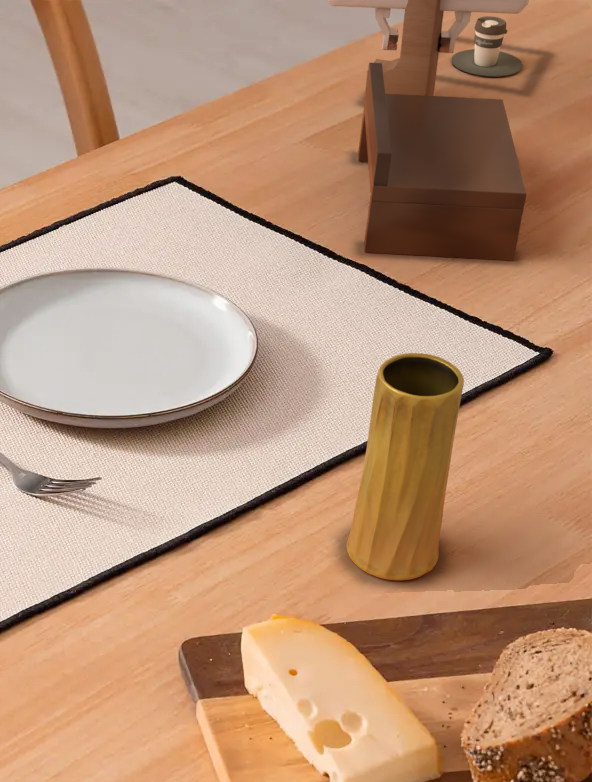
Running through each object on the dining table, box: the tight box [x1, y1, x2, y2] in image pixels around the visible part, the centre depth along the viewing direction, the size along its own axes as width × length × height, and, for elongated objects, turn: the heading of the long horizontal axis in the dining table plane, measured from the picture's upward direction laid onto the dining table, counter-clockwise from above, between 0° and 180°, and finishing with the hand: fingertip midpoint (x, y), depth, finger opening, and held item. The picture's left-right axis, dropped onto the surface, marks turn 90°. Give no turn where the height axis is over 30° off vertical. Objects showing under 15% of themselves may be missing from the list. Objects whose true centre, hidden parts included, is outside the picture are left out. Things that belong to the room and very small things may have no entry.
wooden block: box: [364, 0, 445, 96], centre depth 158 cm, size 7×3×15 cm, turn 65°
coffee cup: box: [450, 15, 524, 78], centre depth 170 cm, size 12×12×5 cm
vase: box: [346, 352, 465, 581], centre depth 100 cm, size 6×6×14 cm
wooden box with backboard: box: [357, 62, 527, 262], centre depth 142 cm, size 13×20×10 cm, turn 174°
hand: (417, 49), depth 159 cm, fingers open, 4 cm apart
